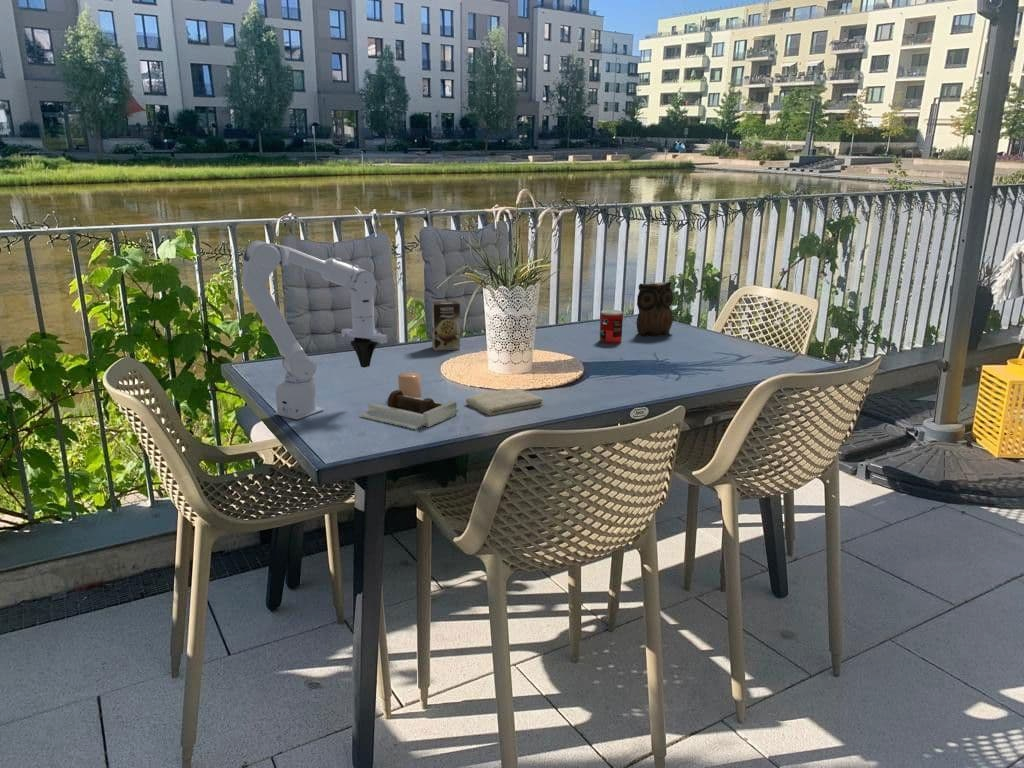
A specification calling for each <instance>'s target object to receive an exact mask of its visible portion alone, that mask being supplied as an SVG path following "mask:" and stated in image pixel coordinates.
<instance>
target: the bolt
mask: <svg viewBox="0 0 1024 768" xmlns="http://www.w3.org/2000/svg"><path fill="white" fill-rule="evenodd" d="M423 399H424V400H419V399H414V398H410V397H406V396H404V395H403V393H402V391H401V390H399V389H397V390H393V391H391V392H390V394H389V395H388V398H387V406H388V407H393V408H397V409H402V410H406V411H411V412H415V413H420V414H423V413H424V412H427V411H429V410H431V409H434V408H436V407H439V406H441V405H442V404H438V403H434V401H435V400H434V399H433V398H430V397H427V398H423Z"/></svg>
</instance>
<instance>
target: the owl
mask: <svg viewBox="0 0 1024 768" xmlns="http://www.w3.org/2000/svg"><path fill="white" fill-rule="evenodd" d="M671 285H672V281H667V282H666V281H665V282H650V283H639V285H638V294H637V299H636V302H637V303H636V306H637V308H638V315H637V317H636V330H637V335H638V336H639V335H641V336H640V337H648V336H651V337H660V336H659V335H664V336H667V335H668V333H669V334H670V330H671V328H672V325H673V322H674V320H675V319H674V317H673V315H674V312H673V311H672V309H671V305H672V304H673V302H674V296H673V295H674V292H673V290H672V288H671Z"/></svg>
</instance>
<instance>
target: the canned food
mask: <svg viewBox="0 0 1024 768" xmlns="http://www.w3.org/2000/svg"><path fill="white" fill-rule="evenodd" d="M599 317H600V318H599V320H600V322H599V324H600V325H599V341H600V342H601V343H604V344H609V345H610V344H611V345H612V344H620V343H621V342H622V337H623V336H622V335H623V319H624V312H623V311H622V310H617V309H603V310H601V311H600V316H599Z"/></svg>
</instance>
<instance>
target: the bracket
mask: <svg viewBox="0 0 1024 768" xmlns="http://www.w3.org/2000/svg"><path fill="white" fill-rule="evenodd" d="M404 396H406V397H410V398H414V399H419V400H424V399H425V398H421V397H420V398H417V397H412V396H407V395H404ZM433 401H434V403H438V404H442V405H441V406H439V407H436V408H434V409H431V410H429V411H427V412H424V413H423V414H420V412H416V411H411V410H406V409H397V408H393V407H388V405H383V404H378V403H375V402H371V403H368V404H367V411H366V412H363V413H360V414H359V417H360V418H363V419H367V418H368V420H372V421H377V422H380V423H384V422H385V423H384V424H388V423H389V425H392V424H394V425H393V426H397V425H398V426H397V427H401V426H403V427H402V428H405V427H407V428H406V429H409V428H411V429H410V430H413V429H415V430H414V431H417V430H419V429H421V428H423V427H422V426H426V427H425V428H427V427H429V428H431V427H433V426H435V425H434V424H436V425H438V424H440V423H442V422H444V420H445V421H447V420H449V419H451V418H454V417H456V416H457V413H458V412H460V408H457V401H453V400H451V401H448V402H446V403H444V402H440V401H435V400H433ZM455 415H456V416H455ZM453 416H454V417H453ZM446 419H447V420H446ZM439 422H440V423H439ZM437 423H438V424H437ZM432 425H433V426H432ZM430 426H431V427H430ZM420 427H421V428H420ZM418 428H419V429H418ZM416 429H417V430H416Z"/></svg>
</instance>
